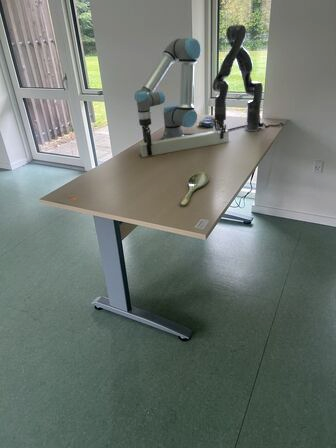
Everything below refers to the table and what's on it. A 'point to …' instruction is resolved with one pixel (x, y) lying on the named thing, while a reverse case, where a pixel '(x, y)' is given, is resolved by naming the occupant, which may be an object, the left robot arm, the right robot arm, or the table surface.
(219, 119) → the right robot arm
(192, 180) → the spoon
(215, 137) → the beam
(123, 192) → the table surface
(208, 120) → the spray gun
